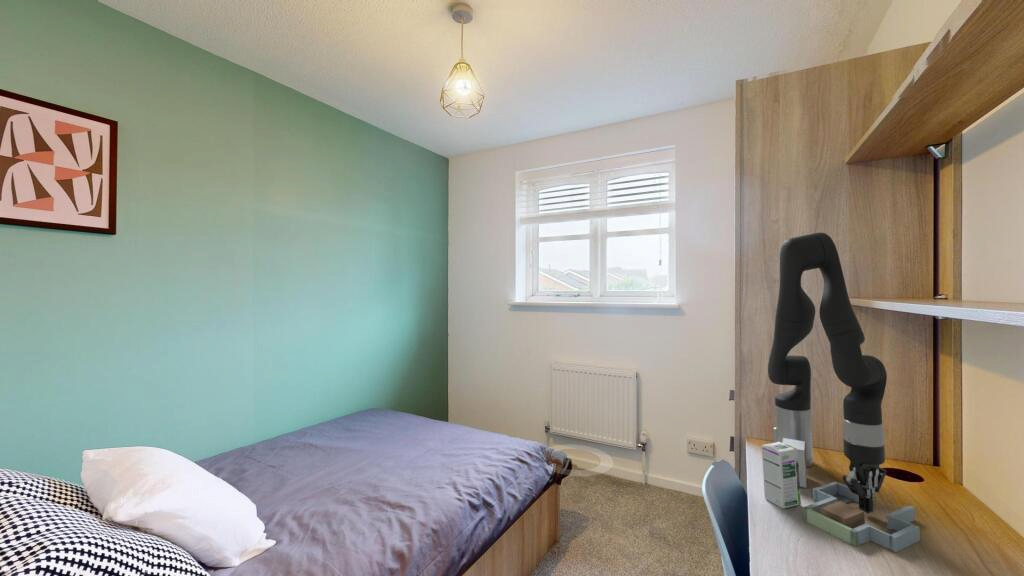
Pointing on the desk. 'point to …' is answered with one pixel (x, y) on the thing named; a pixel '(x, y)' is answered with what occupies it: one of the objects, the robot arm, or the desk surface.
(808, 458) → the robot arm
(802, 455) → the small box
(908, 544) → the trap channel
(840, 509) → the walnut block
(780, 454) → the syrup box
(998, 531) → the desk surface
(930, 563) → the desk surface
